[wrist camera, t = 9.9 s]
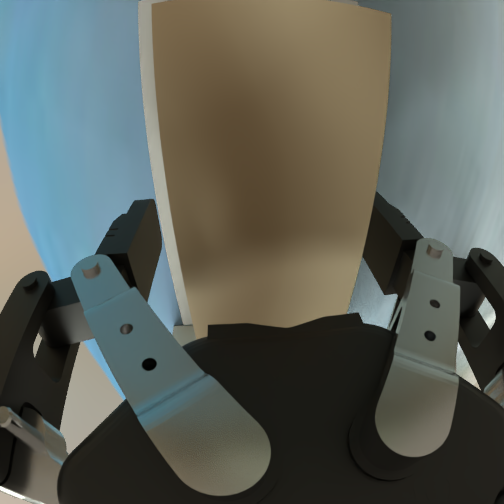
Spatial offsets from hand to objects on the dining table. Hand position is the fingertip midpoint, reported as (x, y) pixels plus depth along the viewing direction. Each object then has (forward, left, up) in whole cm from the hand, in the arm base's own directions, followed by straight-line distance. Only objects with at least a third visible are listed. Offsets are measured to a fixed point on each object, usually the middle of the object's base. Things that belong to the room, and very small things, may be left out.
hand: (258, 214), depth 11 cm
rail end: (0, 0, -5) cm, 5 cm away
